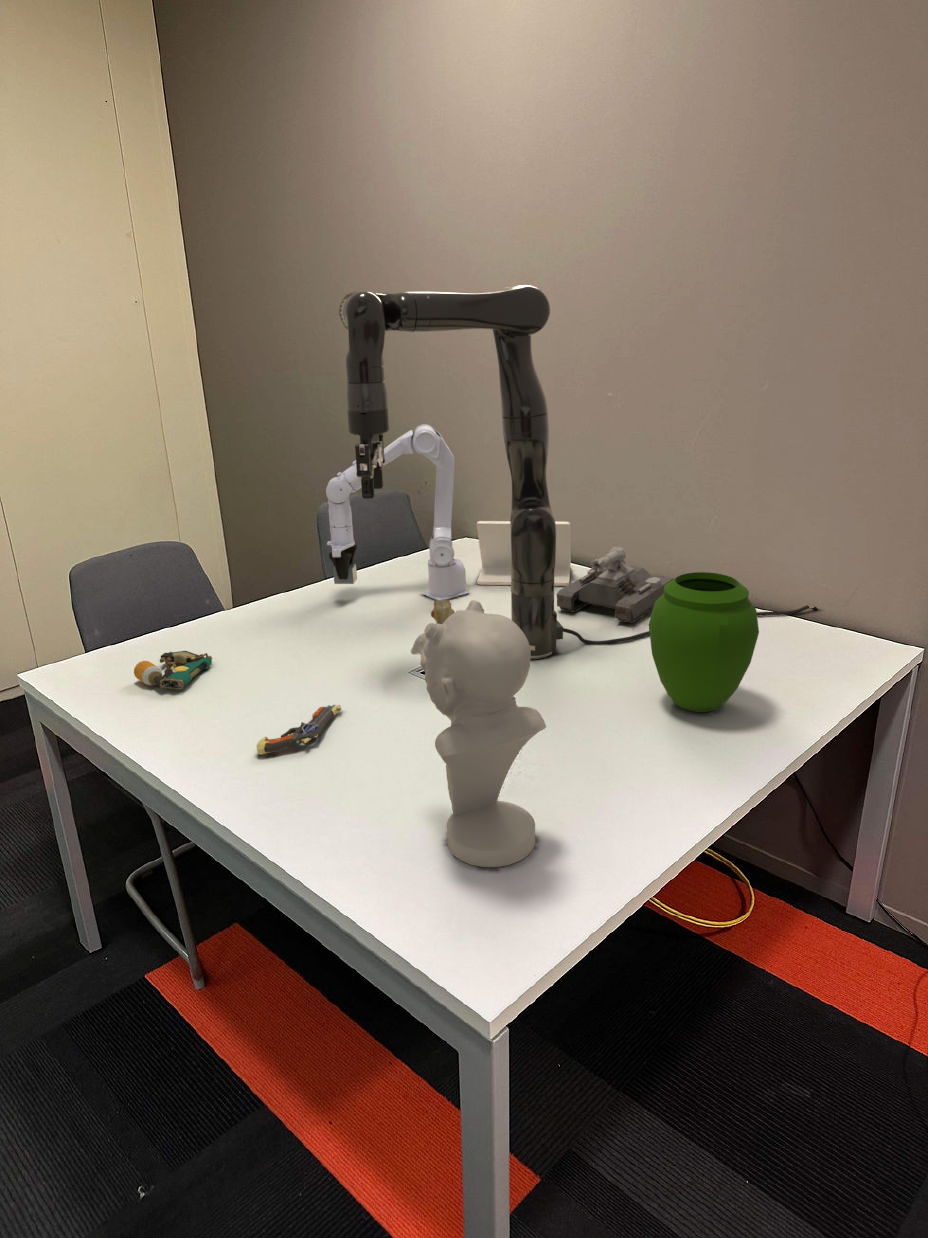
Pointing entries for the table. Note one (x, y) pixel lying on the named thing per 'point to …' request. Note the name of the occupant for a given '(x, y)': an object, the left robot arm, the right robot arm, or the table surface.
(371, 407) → the right robot arm
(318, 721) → the toy gun
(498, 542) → the tablet stand
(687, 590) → the vase
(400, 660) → the table surface
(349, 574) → the block
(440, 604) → the sculpture
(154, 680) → the spray gun
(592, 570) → the toy
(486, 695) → the bust sculpture
